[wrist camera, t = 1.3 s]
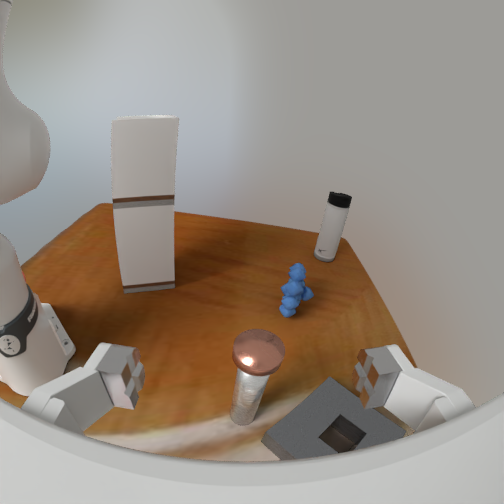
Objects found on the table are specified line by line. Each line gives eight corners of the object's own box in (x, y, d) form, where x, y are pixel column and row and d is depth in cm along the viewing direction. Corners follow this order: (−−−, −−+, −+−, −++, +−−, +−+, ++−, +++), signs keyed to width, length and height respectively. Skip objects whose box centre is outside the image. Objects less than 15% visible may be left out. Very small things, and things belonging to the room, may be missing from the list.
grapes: (303, 337, 50) (321, 288, 44) (269, 328, 51) (281, 279, 45) (308, 300, 60) (322, 255, 54) (279, 293, 61) (290, 247, 55)
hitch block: (260, 441, 31) (265, 431, 29) (321, 389, 40) (329, 376, 38) (343, 506, 21) (356, 502, 19) (392, 441, 30) (406, 431, 28)
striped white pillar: (168, 261, 66) (172, 115, 48) (175, 288, 58) (179, 118, 40) (124, 265, 61) (117, 117, 44) (124, 293, 53) (111, 120, 36)
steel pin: (217, 411, 34) (223, 342, 26) (243, 394, 38) (260, 322, 29) (240, 436, 31) (258, 377, 23) (267, 417, 35) (295, 350, 26)
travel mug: (317, 262, 75) (335, 195, 65) (311, 250, 81) (327, 187, 71) (337, 263, 76) (356, 198, 66) (329, 251, 82) (346, 190, 72)
